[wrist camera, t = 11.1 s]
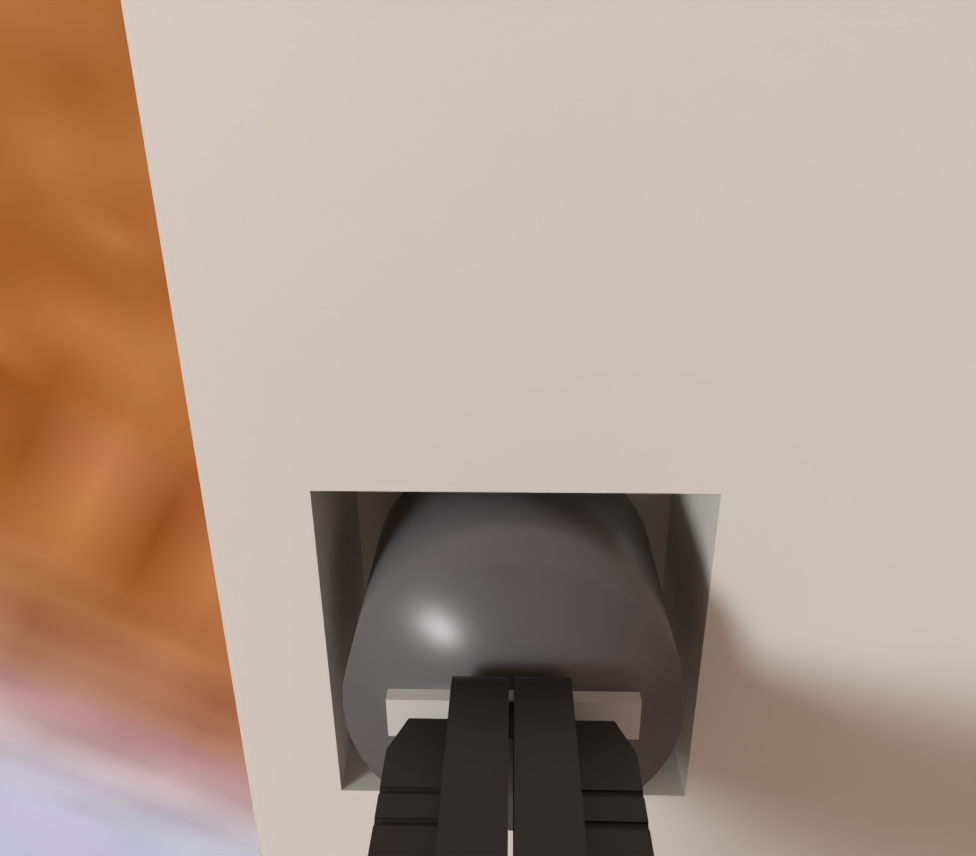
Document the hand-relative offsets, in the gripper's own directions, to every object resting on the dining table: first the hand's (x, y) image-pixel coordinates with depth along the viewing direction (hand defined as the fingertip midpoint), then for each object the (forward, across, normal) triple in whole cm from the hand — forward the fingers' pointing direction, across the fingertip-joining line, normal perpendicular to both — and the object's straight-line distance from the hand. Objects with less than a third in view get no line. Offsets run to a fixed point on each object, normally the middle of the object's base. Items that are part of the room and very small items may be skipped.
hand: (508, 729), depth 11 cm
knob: (+3, 0, 0) cm, 3 cm away
